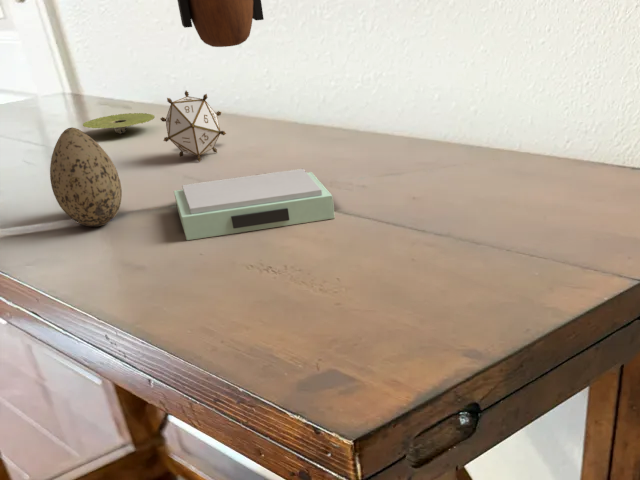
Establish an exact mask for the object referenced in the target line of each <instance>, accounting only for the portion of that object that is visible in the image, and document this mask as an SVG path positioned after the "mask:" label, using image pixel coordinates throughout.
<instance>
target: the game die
mask: <svg viewBox="0 0 640 480" xmlns="http://www.w3.org/2000/svg"><path fill="white" fill-rule="evenodd" d="M189 93H190V92H188V90H185V91H184V97H182V98H179V99H176V100H174V101H173V100H172V99H171V97H166V100H167V101H166V102H168V104H170V105H169V108H168V112H167V114H166V117H163V116H162V117H161V118H159V120H160V121H161V122H163V123H164V122H165V126H166V133H167V136H166V137H163V140H162V141H163V142H166V143H167V142H169V141H170V142H171V143H172V144H174V146H176V148H177V149H179V153H178V155H179V157H180V158H181V157H184V153H185V154H188V155H193V156H196V160H197V161H198V162H199V163H201V161H202V157H201V156H202V155H203V154H206V153H207V152H209V151H211V150H212V151H213V153H216V154H218V149H217V148H216V147H215V145H216V143H217V142H218V140H219V137H220V135H222V136H226V135H227V133H226V132H225V130H221V127H220V123H219V117H220V116H221V114H222V111H220V110H218V111H216V112H215V110H214V109H213V108H212V107H211V106H210V104H209V103H208V102H207V101H206V100H207V99H208V93H205V94H203V96H202V98H200V97H194V96H189V95H190V94H189Z"/></svg>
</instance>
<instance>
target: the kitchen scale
mask: <svg viewBox="0 0 640 480" xmlns="http://www.w3.org/2000/svg"><path fill="white" fill-rule="evenodd" d="M173 195H174V198H175V204H176V208H177V213H178V216H179V219H180V223H181V226H182V229H183V232H184V236H185V239H186V241H194V240H200V239H207V238H215V237H221V236H226V235H233V234H240V233H246V232H253V231H259V230H265V229H272V228H274V229H275V228H280V227H288V226H294V225H299V224H300V225H301V224H307V223H314V222H319V221H327V220H332V219H335V218H336V217H335V216H336V215H335V206H334V198H333V194H332V193H331V192H330V191H329V190H328V189H327V188H326V187H325V186H324V184H323V183H322V182H321V181H320V180H319V179H318V178H317V177H316V175H315V174H314V173H313V172H312V171H308V172H307V171H306V170H305V169H304V168H298V169H289V170H281V171H275V172H269V173H261V174H253V175H246V176H239V177H232V178H224V179H217V180H216V179H215V180H209V181H201V182H195V183H194V182H193V183H189V184H188V183H187V184H182V185H181V189H177V190H173Z"/></svg>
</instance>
